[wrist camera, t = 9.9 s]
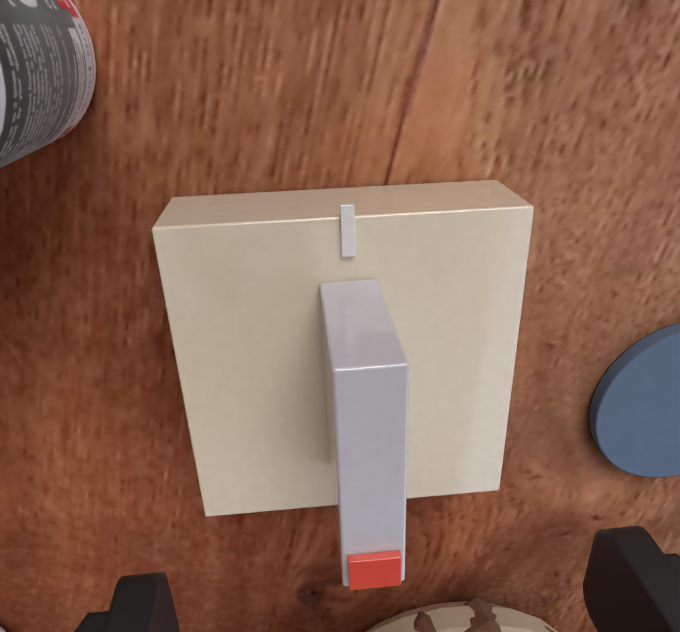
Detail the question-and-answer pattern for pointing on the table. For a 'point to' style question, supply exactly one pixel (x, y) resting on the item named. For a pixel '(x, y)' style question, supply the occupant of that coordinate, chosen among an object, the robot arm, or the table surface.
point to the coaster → (641, 407)
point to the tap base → (306, 329)
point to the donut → (462, 619)
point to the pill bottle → (42, 74)
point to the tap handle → (366, 431)
